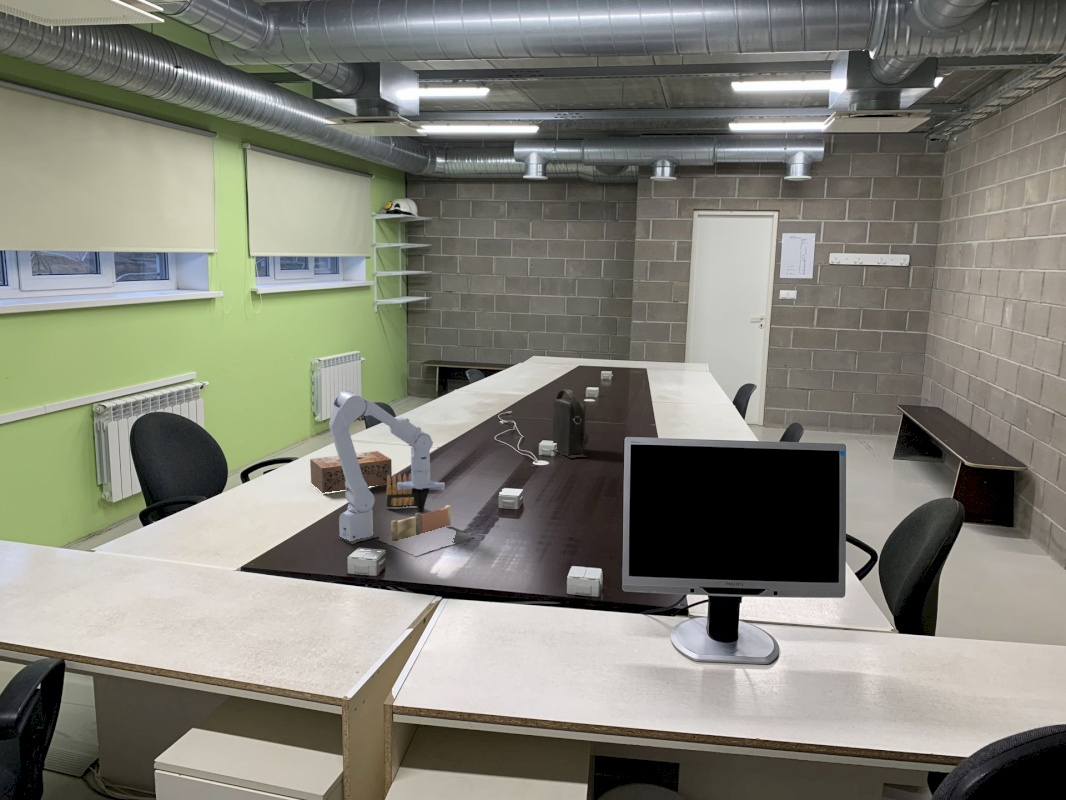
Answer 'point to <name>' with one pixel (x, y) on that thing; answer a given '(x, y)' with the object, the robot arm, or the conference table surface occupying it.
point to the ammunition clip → (399, 493)
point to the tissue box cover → (332, 478)
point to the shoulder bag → (569, 424)
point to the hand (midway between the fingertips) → (421, 511)
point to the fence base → (406, 527)
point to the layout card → (461, 537)
